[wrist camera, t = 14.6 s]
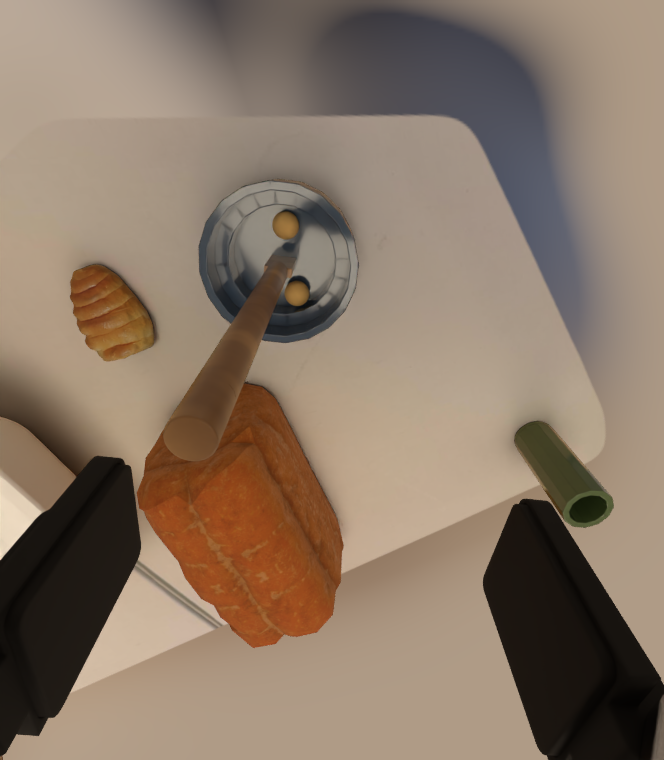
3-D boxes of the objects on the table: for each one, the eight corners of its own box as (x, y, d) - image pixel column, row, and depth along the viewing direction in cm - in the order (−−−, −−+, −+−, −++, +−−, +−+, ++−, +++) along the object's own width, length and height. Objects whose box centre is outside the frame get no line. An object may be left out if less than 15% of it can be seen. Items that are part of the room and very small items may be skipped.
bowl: (363, 189, 38) (369, 192, 33) (345, 327, 44) (347, 349, 39) (215, 170, 37) (196, 170, 32) (217, 314, 43) (201, 334, 38)
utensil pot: (558, 423, 50) (621, 493, 39) (545, 454, 52) (602, 529, 41) (521, 419, 49) (573, 488, 39) (509, 451, 51) (556, 525, 41)
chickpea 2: (290, 274, 41) (311, 277, 40) (295, 294, 43) (315, 298, 42) (277, 288, 40) (298, 292, 39) (283, 308, 41) (303, 313, 40)
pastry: (60, 274, 42) (37, 283, 38) (121, 253, 41) (102, 261, 37) (110, 357, 46) (92, 372, 42) (166, 340, 45) (153, 354, 41)
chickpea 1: (300, 211, 38) (299, 214, 36) (298, 238, 40) (297, 242, 37) (274, 208, 38) (271, 210, 36) (273, 235, 39) (270, 239, 37)
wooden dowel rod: (296, 252, 40) (228, 420, 13) (295, 271, 41) (227, 465, 14) (271, 249, 40) (151, 412, 13) (270, 268, 41) (154, 458, 14)
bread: (267, 372, 46) (241, 456, 33) (349, 535, 58) (354, 647, 44) (157, 411, 49) (91, 504, 35) (257, 561, 60) (235, 675, 46)
